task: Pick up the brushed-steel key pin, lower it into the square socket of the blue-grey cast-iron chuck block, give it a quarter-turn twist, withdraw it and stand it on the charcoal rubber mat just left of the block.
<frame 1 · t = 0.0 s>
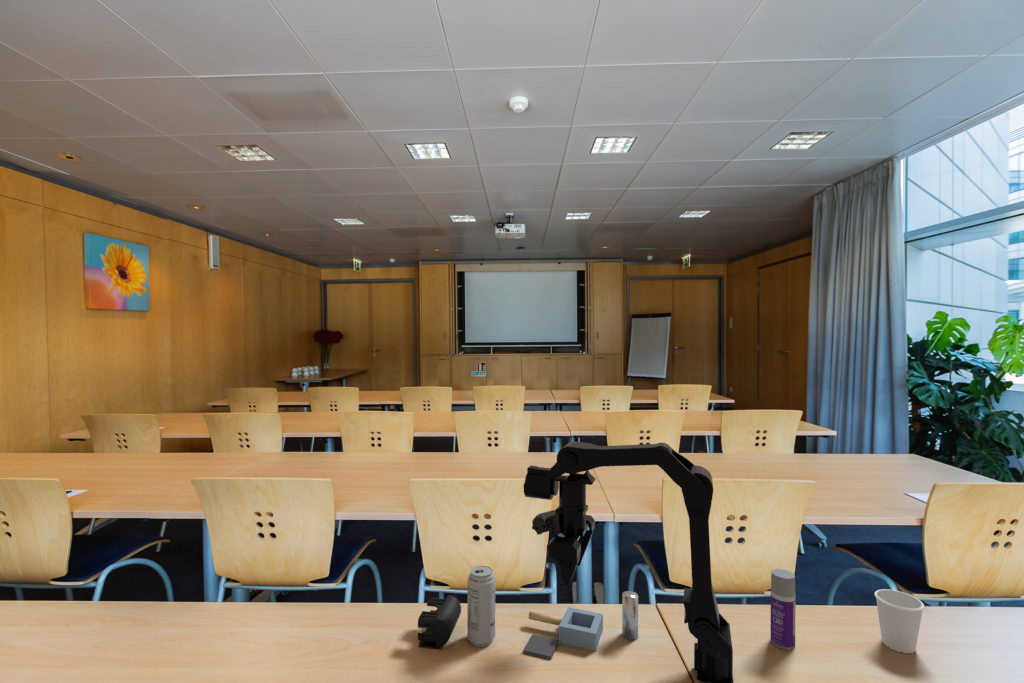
hand: (572, 574, 106), 15 cm above the table, fingers open, 9 cm apart
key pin: (630, 635, 108), on the table
dixie cup: (898, 646, 105), on the table
mat: (541, 647, 104), on the table
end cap: (440, 637, 108), on the table
container: (782, 644, 106), on the table
chuck block: (581, 636, 108), on the table
energy drink can: (481, 640, 107), on the table
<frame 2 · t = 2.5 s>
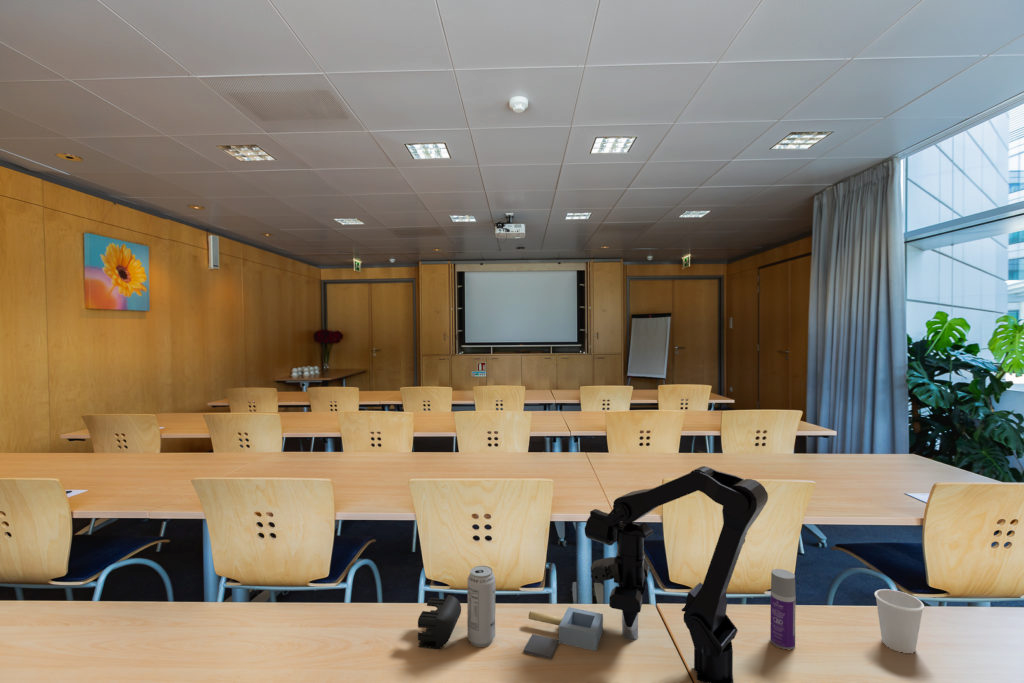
hand: (630, 621, 108), 3 cm above the table, fingers closed on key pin, 3 cm apart
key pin: (630, 635, 108), on the table, touching gripper
everything else where it was.
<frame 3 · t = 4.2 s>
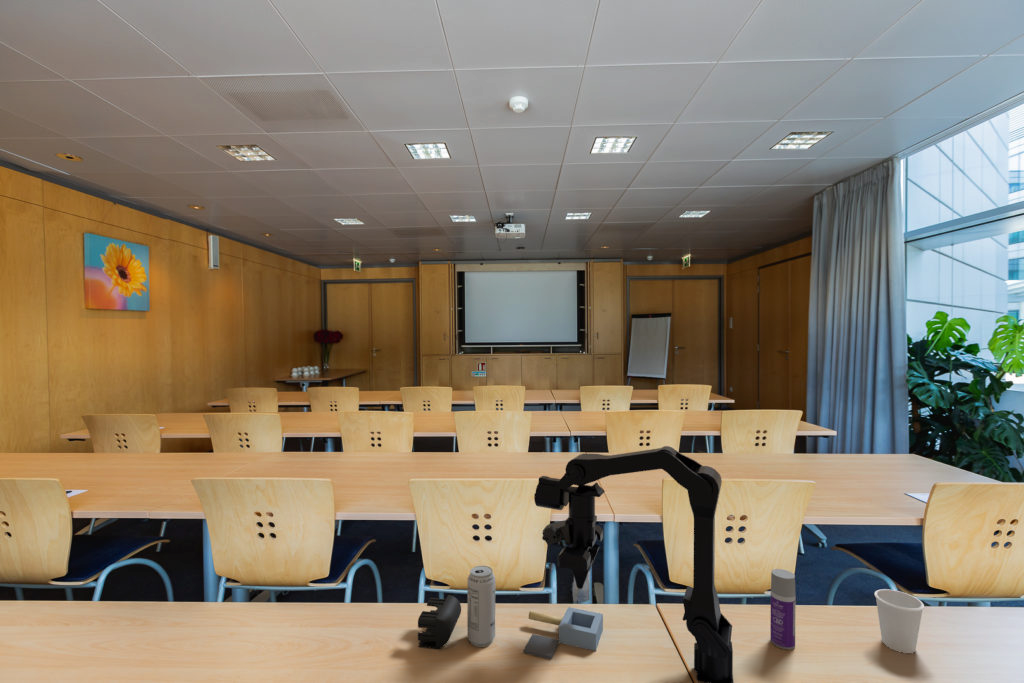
hand: (581, 584, 108), 11 cm above the table, fingers closed on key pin, 3 cm apart
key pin: (581, 597, 108), point 8 cm above the table, touching gripper
everything else where it was.
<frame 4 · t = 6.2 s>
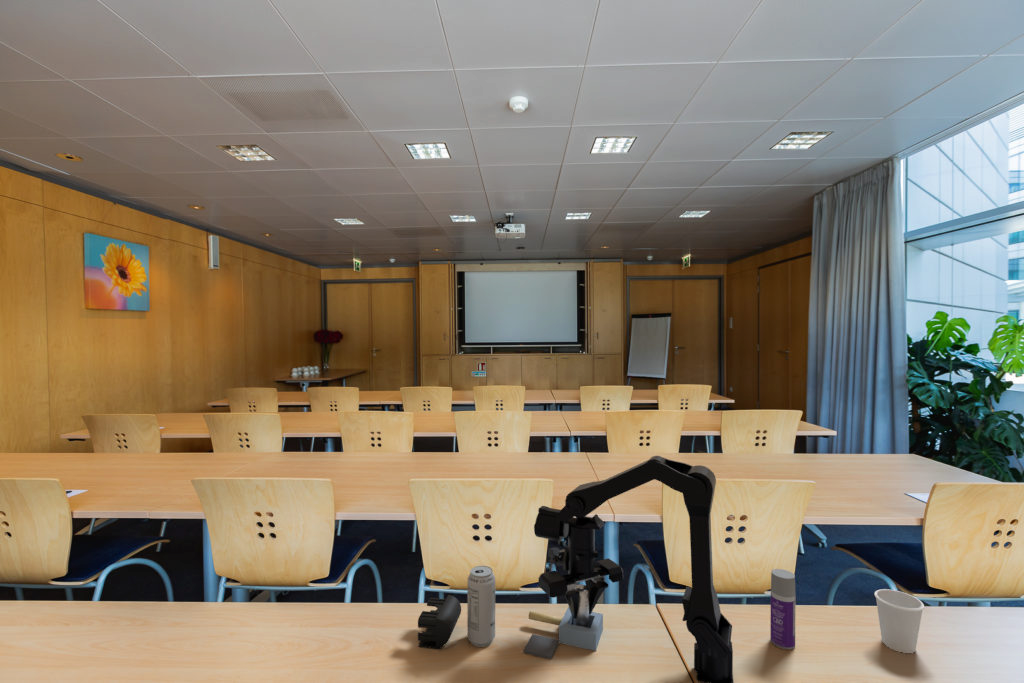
hand: (581, 615, 108), 5 cm above the table, fingers closed on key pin, 3 cm apart
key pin: (581, 629, 108), point 2 cm above the table, touching gripper
everything else where it was.
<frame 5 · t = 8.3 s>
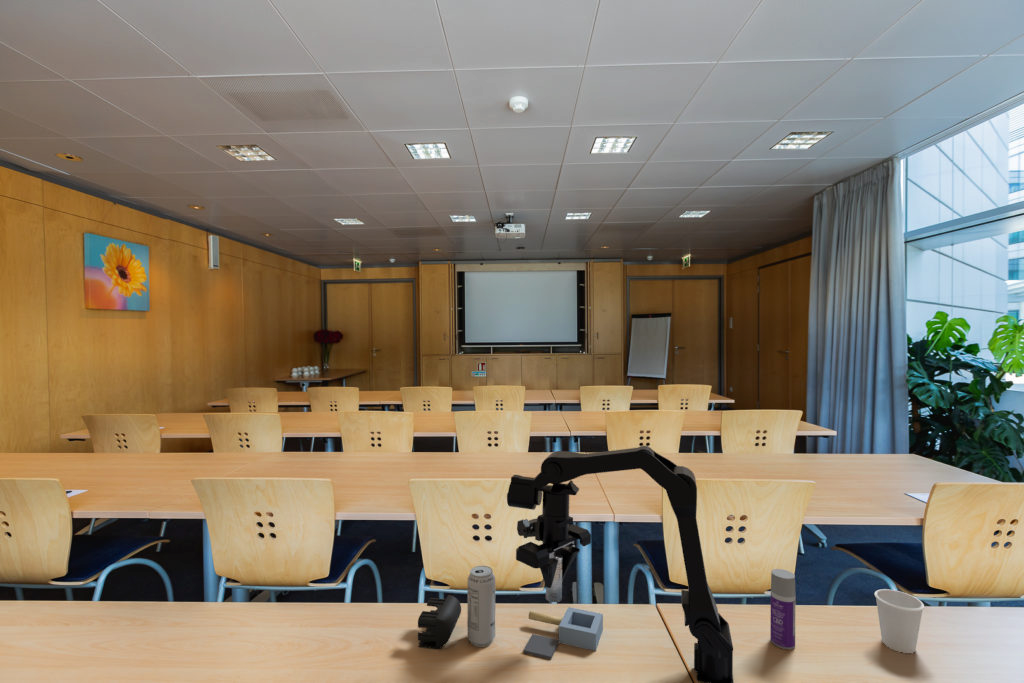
hand: (554, 584, 106), 13 cm above the table, fingers closed on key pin, 3 cm apart
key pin: (553, 598, 106), point 10 cm above the table, touching gripper
everything else where it was.
when the fingers open (4 cm above the table, at t = 10.2 s): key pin stays where it is, resting on mat.
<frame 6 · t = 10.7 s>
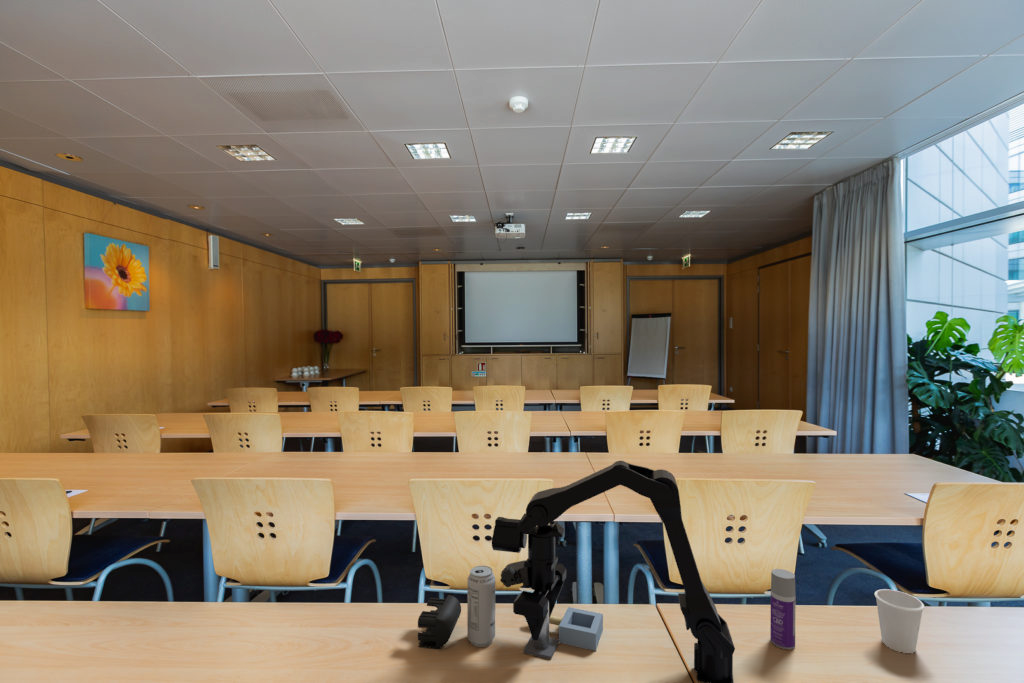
hand: (541, 627, 104), 4 cm above the table, fingers open, 8 cm apart
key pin: (541, 644, 104), point 1 cm above the table, touching mat
everything else where it was.
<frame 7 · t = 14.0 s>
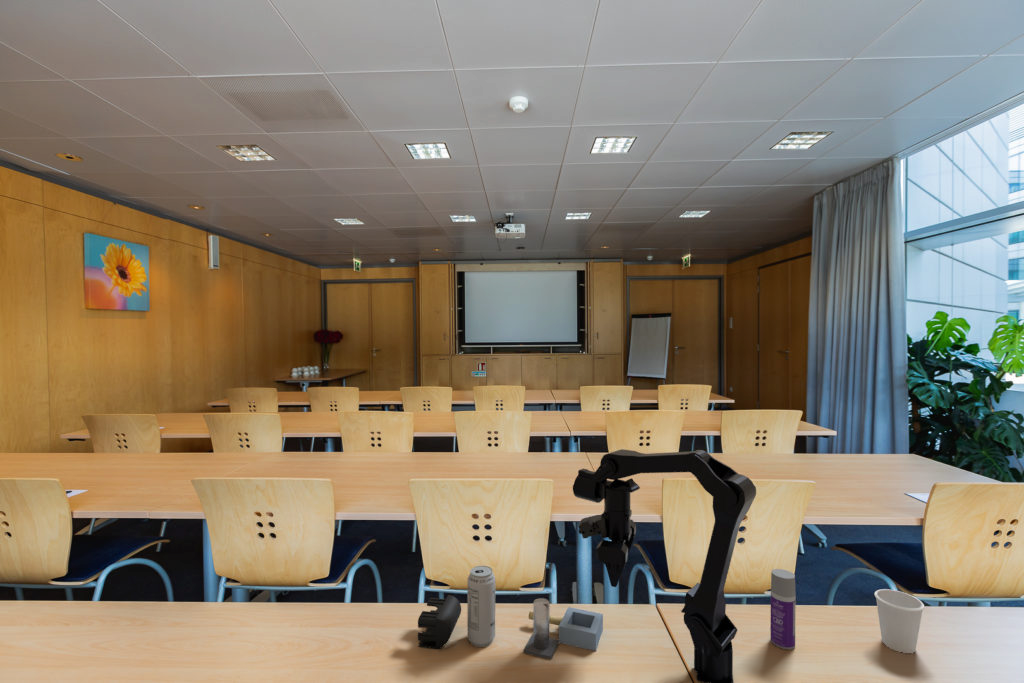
hand: (617, 576, 110), 12 cm above the table, fingers open, 9 cm apart
nothing on the table moved.
at the end: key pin 0.0 cm off-centre on the mat, point 0.6 cm above the mat's base; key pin tilted 2°; the gripper is holding nothing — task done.
